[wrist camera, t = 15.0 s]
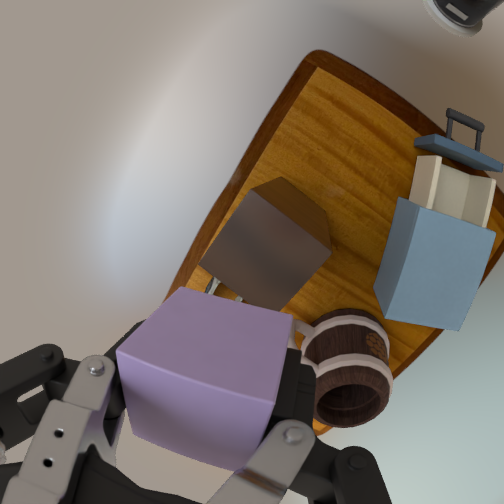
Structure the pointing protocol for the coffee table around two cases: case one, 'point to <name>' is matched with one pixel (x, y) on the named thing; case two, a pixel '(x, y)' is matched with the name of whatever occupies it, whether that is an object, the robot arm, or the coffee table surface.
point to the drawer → (454, 175)
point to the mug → (346, 366)
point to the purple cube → (204, 376)
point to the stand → (270, 245)
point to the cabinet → (431, 267)
